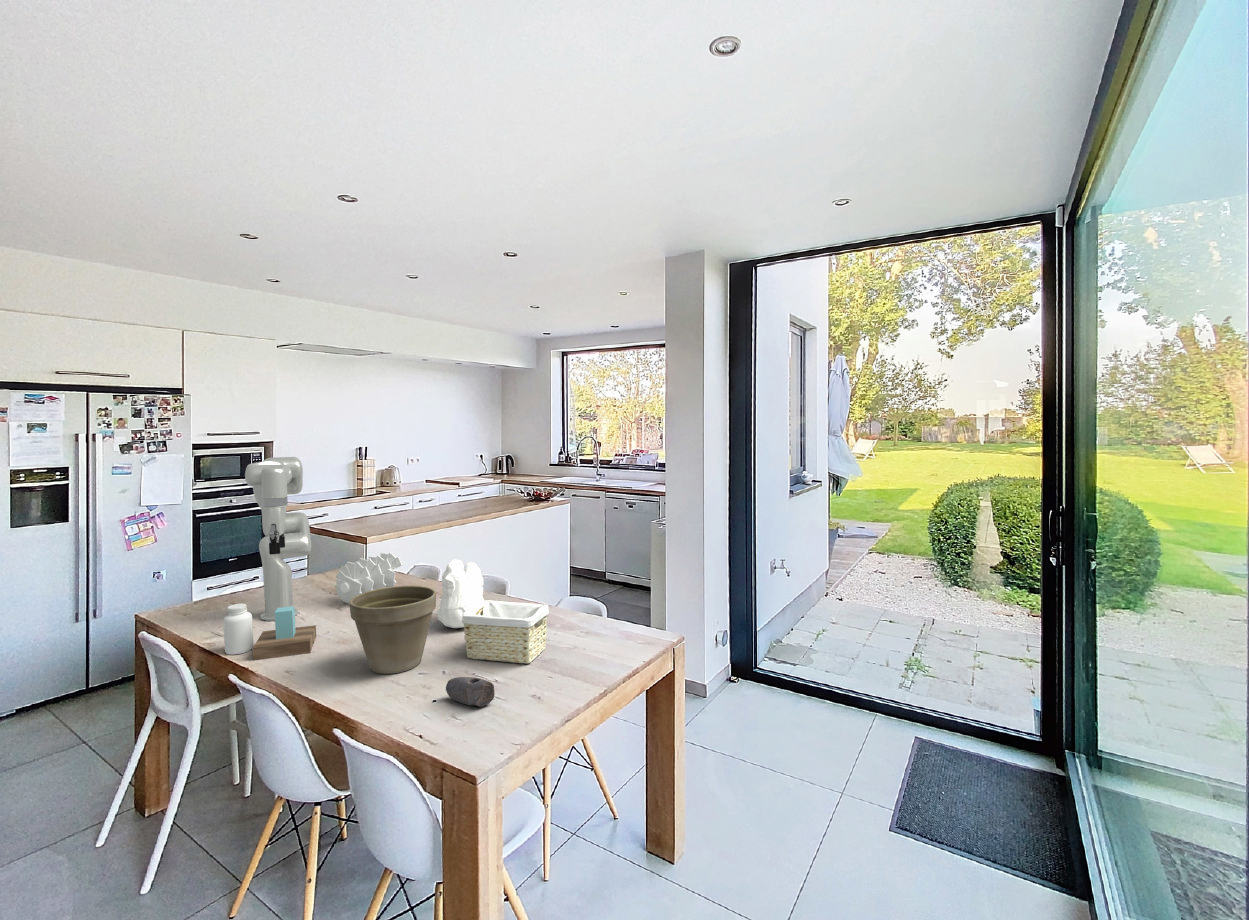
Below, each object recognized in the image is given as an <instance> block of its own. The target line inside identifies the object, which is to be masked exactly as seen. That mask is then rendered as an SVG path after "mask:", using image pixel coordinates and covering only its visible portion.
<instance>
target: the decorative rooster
mask: <svg viewBox="0 0 1249 920" xmlns="http://www.w3.org/2000/svg"><path fill="white" fill-rule="evenodd" d="M445 567H446V568H445V570H444V572H443V573H442V575H441V590H442V591H441V592H442V593H441V600H440V604H439V609H438V611H437V619H438V622H441V623H442V624H443V626H445V627H448V628H452V629H459V628H464V624H463V623H462V618H463V616H462V615H463V613H465V612H466V611H468V610H470V609H471V608H473V607H474V606H476V605H478V604H480V603H482V602H483V601H485V599H484V597H483V595H484V577H483V576H482V575H483V574H482V572H481V571H482V569H480V567H478V565H477V564H476V563H475V562H472V561H470V562H466V563H465V565H464V563H463V562H462V560H459V559H452V560H451V561H450V562H448V564H447V565H446V566H445ZM478 615H480V613H479V614H478ZM480 616H481V615H480Z"/></svg>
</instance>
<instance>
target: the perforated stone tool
mask: <svg viewBox="0 0 1249 920" xmlns="http://www.w3.org/2000/svg"><path fill="white" fill-rule="evenodd" d="M495 691H496V690H495V685H494V683H493V682H491V681H488V680H485V679H483V678H478V677H474V676H473V677H471V676H470V677H469V676H458V677H457V676H456V677H453V678H451V679H448V681H447V683H446V686H445V692H446V693H447V695H448V696H449V698H450V699H452V700H454V701H455V702H459V703H461V704H464V705H467V706H472V707H473V706H477V707H480V708H483V707H484V706H485V705H489V704H490V703H491V702H492V701H493V700H494V698H495Z"/></svg>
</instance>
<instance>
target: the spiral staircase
mask: <svg viewBox="0 0 1249 920" xmlns="http://www.w3.org/2000/svg"><path fill="white" fill-rule="evenodd" d="M402 566H403V563H402V561H401V558H400V557H399V556H398V557H396V555H394V554H393V553H392V552H391V551H389V553H383V552H380V555H379V554H378V555H376V556H368V558H367V559H365V558H361V557H359V560H357V561H354V562H351V561H347V562H346V564H344V565H342V566H340V567H339V570H338V572H337V573H336V576H335V578H336V579H335V585H334V586H335V590H336V594H337V596H338V597H339V598H340V599H341V601H342V602H343V603H347V604H348V605H349V604H350V603H349V602H350V600H351V599H352V598H353V597H355V596H357V595H359V594H361V593H364V592H367V591H371V590H375V589H380V588H386V587H395V586H396V584H398V582H397V580H395V579H396V571H394V570H396V569H398V568H400V567H402Z"/></svg>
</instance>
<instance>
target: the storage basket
mask: <svg viewBox="0 0 1249 920" xmlns="http://www.w3.org/2000/svg"><path fill="white" fill-rule="evenodd" d="M479 613H480V615H481V616H480V615H478V614H479ZM549 614H550V609H549V605H548V604H539V603H529V602H514V601H513V602H511V601H500V600H490V599H489V600H488V599H486V600H484V601H483V602H482V603H480V604H478V605H476V606H474V607H473V608H471V609H470V610H468V611H466V612H465V613H463V615H462V616H463V618H462V623H463V624H464V627H463V630H464V640H465V649H466V650H465V651H466V657H467V659H473V660H482V661H485V660H486V661H495V662H497V661H498V662H502V663H515V664H516V663H517V664H518V663H519V664H531V663H532V662H533V661H534V660H535V659H536V658H537V657H538V656H539V655H541V653H542V652H544V650H545V649H546V647H547V646H546V645H547V644H546V643H547V629H548V623H547V622H548V617H549V616H548V615H549Z"/></svg>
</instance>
